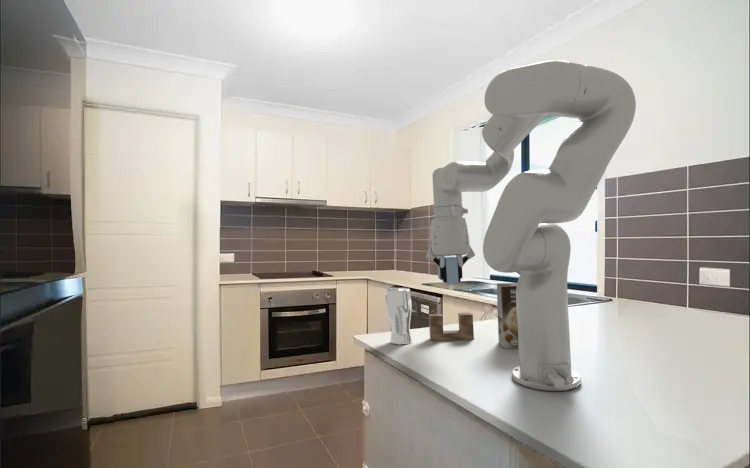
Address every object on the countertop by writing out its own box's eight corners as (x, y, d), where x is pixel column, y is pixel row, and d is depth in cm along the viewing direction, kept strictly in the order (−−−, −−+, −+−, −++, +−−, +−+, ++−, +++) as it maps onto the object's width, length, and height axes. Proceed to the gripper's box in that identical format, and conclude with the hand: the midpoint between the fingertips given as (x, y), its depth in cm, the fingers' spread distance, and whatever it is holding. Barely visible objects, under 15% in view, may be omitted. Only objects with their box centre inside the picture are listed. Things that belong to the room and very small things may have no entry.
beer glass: (414, 344, 107) (411, 290, 107) (389, 346, 107) (386, 291, 107) (412, 338, 114) (409, 287, 114) (388, 339, 114) (386, 288, 114)
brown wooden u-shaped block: (471, 336, 112) (470, 312, 113) (474, 339, 109) (472, 314, 110) (430, 338, 113) (428, 314, 113) (431, 341, 110) (430, 316, 110)
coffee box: (503, 349, 99) (500, 286, 99) (498, 342, 105) (495, 283, 106) (541, 348, 98) (537, 285, 98) (533, 341, 104) (530, 281, 105)
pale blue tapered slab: (458, 284, 103) (457, 258, 103) (447, 284, 103) (446, 258, 103) (447, 277, 119) (446, 254, 119) (438, 278, 119) (437, 255, 119)
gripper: (475, 213, 109) (478, 278, 109) (416, 215, 109) (419, 281, 109) (482, 211, 101) (485, 282, 101) (419, 214, 101) (422, 284, 101)
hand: (451, 281), depth 105 cm, fingers closed on pale blue tapered slab, 3 cm apart
